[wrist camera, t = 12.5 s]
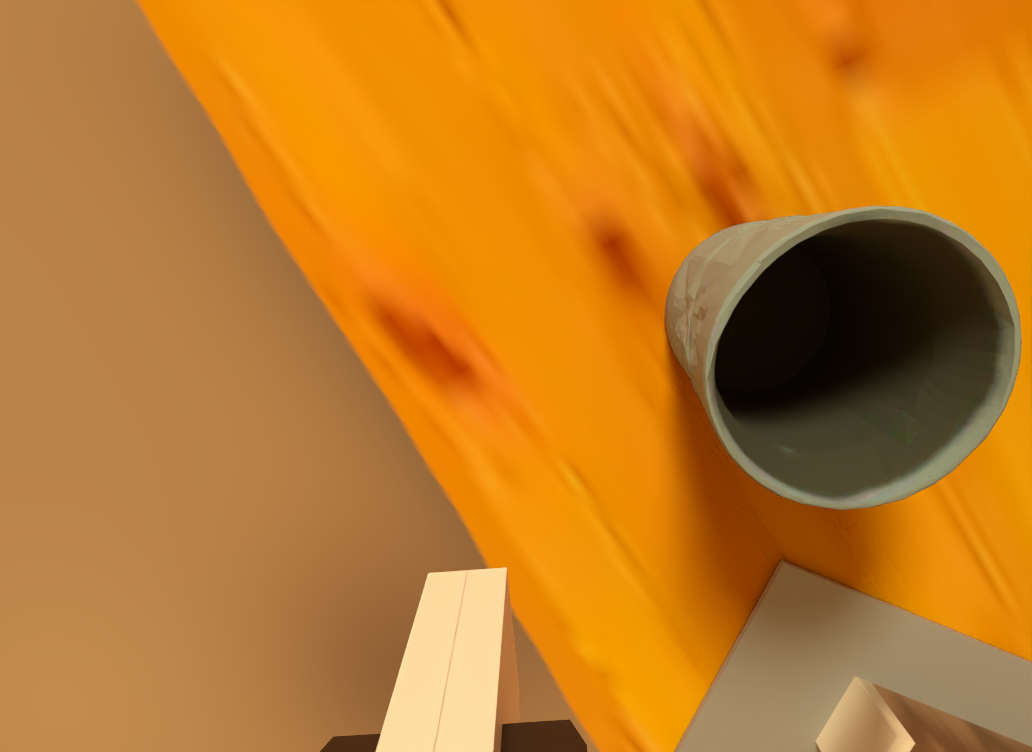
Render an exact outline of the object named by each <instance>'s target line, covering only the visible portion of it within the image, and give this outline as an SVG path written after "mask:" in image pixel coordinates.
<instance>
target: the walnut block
mask: <svg viewBox="0 0 1032 752" xmlns="http://www.w3.org/2000/svg"><path fill="white" fill-rule="evenodd" d="M815 742H816V743H817V745H818V747H819V749H820V751H821V752H1032V747H1031V746H1028V745H1026V744H1023V743H1021V742H1018V741H1016V740H1013V739H1011V738H1008V737H1006V736H1003V735H1001V734H998V733H996V732H993V731H991V730H988V729H986V728H983V727H981V726H978V725H976V724H973V723H971V722H968V721H966V720H963V719H961V718H958V717H956V716H953V715H951V714H948V713H946V712H943V711H941V710H938V709H936V708H933V707H931V706H928V705H926V704H923V703H921V702H918V701H916V700H913V699H911V698H908V697H906V696H903V695H901V694H898V693H896V692H893V691H891V690H888V689H886V688H883V687H881V686H878V685H876V684H873V683H871V682H868V681H866V680H863V679H861V678H858V677H856V676H855V677H854V679H853V680H852V682H851V684H850V685H849V687H848V689H847V690H846V692H845V693H844V695H843V697H842V698H841V700H840V702H839V703H838V705H837V707H836V708H835V710H834V712H833V713H832V715H831V717H830V718H829V720H828V721H827V723H826V725H825V726H824V728H823V730H822V731H821V733H820V735H819V736H818V738H817V740H816V741H815Z"/></svg>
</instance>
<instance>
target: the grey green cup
mask: <svg viewBox="0 0 1032 752" xmlns="http://www.w3.org/2000/svg"><path fill="white" fill-rule="evenodd" d="M665 324H666V331H667V336H668V340H669V342H670V345H671V348H672V350H673V352H674V354H675V356H676V358H677V360H678V361H679V363H680V365H681V366H682V367H683V368H684V370H685V372H686V373H687V375H688V377H689V378H691V379H692V385H693V388H694V390H695V392H696V393H697V395H698V397H699V399H700V401H701V403H702V405H703V407H704V409H705V411H706V414H707V416H708V418H709V420H710V422H711V425H712V427H713V429H714V431H715V433H716V435H717V437H718V439H719V440H720V442H721V444H722V446H723V447H724V449H725V450H726V451H727V453H728V454H729V456H730V457H731V458H732V460H733V461H734V462H735V463H736V464H737V465H738V466H739V467H740V468H741V469H742V470H743V471H744V472H745V473H746V474H747V475H748V476H750V477H751V478H752V479H753V480H755V481H756V482H757V483H759V484H760V485H762V486H763V487H765V488H767V489H768V490H770V491H772V492H773V493H775V494H777V495H779V496H782V497H784V498H787V499H790V500H792V501H795V502H798V503H801V504H805V505H811V506H816V507H821V508H832V509H840V510H845V509H858V508H870V507H874V506H879V505H883V504H887V503H891V502H895V501H899V500H903V499H905V498H907V497H909V496H911V495H913V494H915V493H917V492H919V491H921V490H923V489H925V488H928V487H930V486H932V485H933V484H935V483H936V482H938V481H939V480H941V479H942V478H943V477H945V476H946V475H948V474H949V473H951V472H952V471H953V470H954V469H955V468H956V467H957V466H958V465H959V464H960V463H961V462H962V461H963V460H964V459H965V458H966V457H967V456H968V455H969V454H971V453H972V452H973V451H974V450H975V449H976V448H977V447H978V446H979V445H980V444H981V443H982V442H983V441H984V440H985V439H986V437H987V436H988V434H989V433H990V431H991V429H992V428H993V426H994V425H995V423H996V422H997V420H998V419H999V417H1000V415H1001V414H1002V412H1003V411H1004V409H1005V407H1006V404H1007V402H1008V399H1009V397H1010V395H1011V392H1012V390H1013V387H1014V384H1015V380H1016V376H1017V372H1018V367H1019V363H1020V356H1021V342H1022V341H1021V327H1020V315H1019V311H1018V307H1017V303H1016V299H1015V297H1014V294H1013V291H1012V288H1011V286H1010V284H1009V282H1008V280H1007V277H1006V275H1005V274H1004V272H1003V270H1002V269H1001V267H1000V265H999V264H998V262H997V261H996V260H995V258H994V257H993V256H992V255H991V253H990V252H989V251H988V250H987V249H986V248H984V247H983V246H982V245H981V244H980V243H979V242H978V241H977V240H976V239H975V238H974V237H973V236H972V235H971V234H969V233H968V232H966V231H965V230H963V229H962V228H960V227H958V226H957V225H955V224H954V223H952V222H950V221H948V220H945V219H943V218H941V217H939V216H936V215H934V214H931V213H928V212H925V211H921V210H916V209H911V208H906V207H896V206H869V207H861V208H853V209H846V210H841V211H835V212H830V213H825V214H814V215H810V216H802V215H798V216H789V217H782V218H776V219H773V220H763V221H756V222H748V223H744V224H739V225H735V226H732V227H729V228H727V229H724V230H721V231H719V232H717V233H715V234H713V235H712V236H710V237H709V238H707V239H706V240H704V241H703V242H702V243H701V244H699V245H698V246H697V247H696V248H695V249H694V250H693V251H692V252H691V253H690V254H689V255H688V256H687V258H686V259H685V260H684V261H683V263H682V264H681V266H680V268H679V269H678V271H677V272H676V274H675V276H674V279H673V281H672V284H671V286H670V288H669V292H668V296H667V300H666V307H665Z"/></svg>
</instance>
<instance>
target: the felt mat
mask: <svg viewBox="0 0 1032 752" xmlns="http://www.w3.org/2000/svg"><path fill="white" fill-rule="evenodd" d="M855 676H856V677H858V678H861V679H863V680H866V681H868V682H871V683H873V684H876V685H878V686H881V687H883V688H886V689H888V690H891V691H893V692H896V693H898V694H901V695H903V696H906V697H908V698H911V699H913V700H916V701H918V702H921V703H923V704H926V705H928V706H931V707H933V708H936V709H938V710H941V711H943V712H946V713H948V714H951V715H953V716H956V717H958V718H961V719H963V720H966V721H968V722H971V723H973V724H976V725H978V726H981V727H983V728H986V729H988V730H991V731H993V732H996V733H998V734H1001V735H1003V736H1006V737H1008V738H1011V739H1013V740H1016V741H1018V742H1021V743H1023V744H1026V745H1028V746H1031V747H1032V662H1031V661H1028V660H1026V659H1023V658H1021V657H1018V656H1016V655H1014V654H1011V653H1009V652H1006V651H1004V650H1001V649H999V648H996V647H994V646H991V645H989V644H987V643H984V642H982V641H979V640H977V639H974V638H972V637H969V636H967V635H965V634H962V633H960V632H957V631H955V630H952V629H950V628H947V627H945V626H943V625H940V624H938V623H935V622H933V621H930V620H928V619H925V618H923V617H920V616H918V615H916V614H913V613H911V612H908V611H906V610H903V609H901V608H898V607H896V606H894V605H891V604H889V603H886V602H884V601H881V600H879V599H876V598H874V597H872V596H869V595H867V594H864V593H862V592H859V591H857V590H854V589H852V588H849V587H847V586H845V585H842V584H840V583H837V582H835V581H832V580H830V579H827V578H825V577H823V576H820V575H818V574H815V573H813V572H810V571H808V570H805V569H803V568H801V567H798V566H796V565H793V564H791V563H788V562H786V561H783V560H780V562H779V564H778V566H777V568H776V569H775V571H774V573H773V575H772V577H771V578H770V580H769V582H768V584H767V586H766V587H765V589H764V591H763V593H762V595H761V596H760V598H759V600H758V602H757V604H756V605H755V607H754V609H753V611H752V613H751V614H750V616H749V618H748V620H747V622H746V623H745V625H744V627H743V629H742V631H741V632H740V634H739V636H738V638H737V640H736V641H735V643H734V645H733V647H732V649H731V650H730V652H729V654H728V656H727V658H726V659H725V661H724V663H723V665H722V667H721V668H720V670H719V672H718V674H717V676H716V677H715V679H714V681H713V683H712V685H711V686H710V688H709V690H708V692H707V694H706V695H705V697H704V699H703V701H702V703H701V704H700V706H699V708H698V710H697V712H696V713H695V715H694V717H693V719H692V721H691V722H690V724H689V726H688V728H687V730H686V731H685V733H684V735H683V737H682V739H681V740H680V742H679V744H678V746H677V748H676V749H675V751H674V752H821V751H820V749H819V747H818V745H817V743H816V742H815V741H816V740H817V738H818V736H819V735H820V733H821V731H822V730H823V728H824V726H825V725H826V723H827V721H828V720H829V718H830V717H831V715H832V713H833V712H834V710H835V708H836V707H837V705H838V703H839V702H840V700H841V698H842V697H843V695H844V693H845V692H846V690H847V689H848V687H849V685H850V684H851V682H852V680H853V679H854V677H855Z"/></svg>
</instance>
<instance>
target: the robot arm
mask: <svg viewBox="0 0 1032 752" xmlns="http://www.w3.org/2000/svg"><path fill="white" fill-rule="evenodd" d="M519 703H520V691H519V681H518V672H517V662H516V652H515V642H514V632H513V623H512V613H511V603H510V593H509V583H508V573H507V568H494V569H480V570H466V571H452V572H438V573H428V576H427V580H426V583H425V586H424V590H423V593H422V596H421V600H420V603H419V607H418V610H417V613H416V617H415V620H414V623H413V627H412V630H411V634H410V637H409V640H408V644H407V647H406V651H405V654H404V657H403V661H402V664H401V667H400V671H399V674H398V678H397V682H396V684H395V688H394V691H393V695H392V698H391V701H390V705H389V708H388V712H387V715H386V718H385V722H384V725H383V729H382V732H381V734H370V735H355V736H337V737H333V738H332V739H331V740H330V741H329V742H328V743H327V744H326V746H325V747H324V748H323V749H322V750H321V751H320V752H587V745H586V743H585V742H584V740H583V739H582V738H581V736H580V734H579V733H578V731H577V730H576V728H575V727H574V725H573V724H572V722H571V721H570V720H558V721H541V722H525V723H519Z"/></svg>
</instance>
